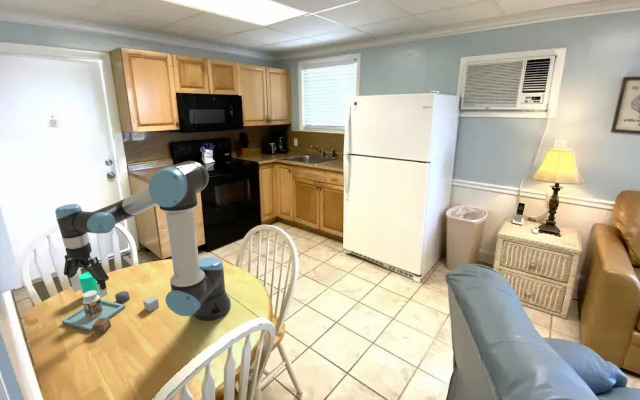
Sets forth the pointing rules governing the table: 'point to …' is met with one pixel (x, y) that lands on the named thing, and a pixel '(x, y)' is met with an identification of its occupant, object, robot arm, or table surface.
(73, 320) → the tray
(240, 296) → the table surface
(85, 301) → the pill bottle
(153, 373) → the table surface
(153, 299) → the grey block
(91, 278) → the candle
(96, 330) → the walnut block
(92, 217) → the robot arm
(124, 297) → the dark grey stone
